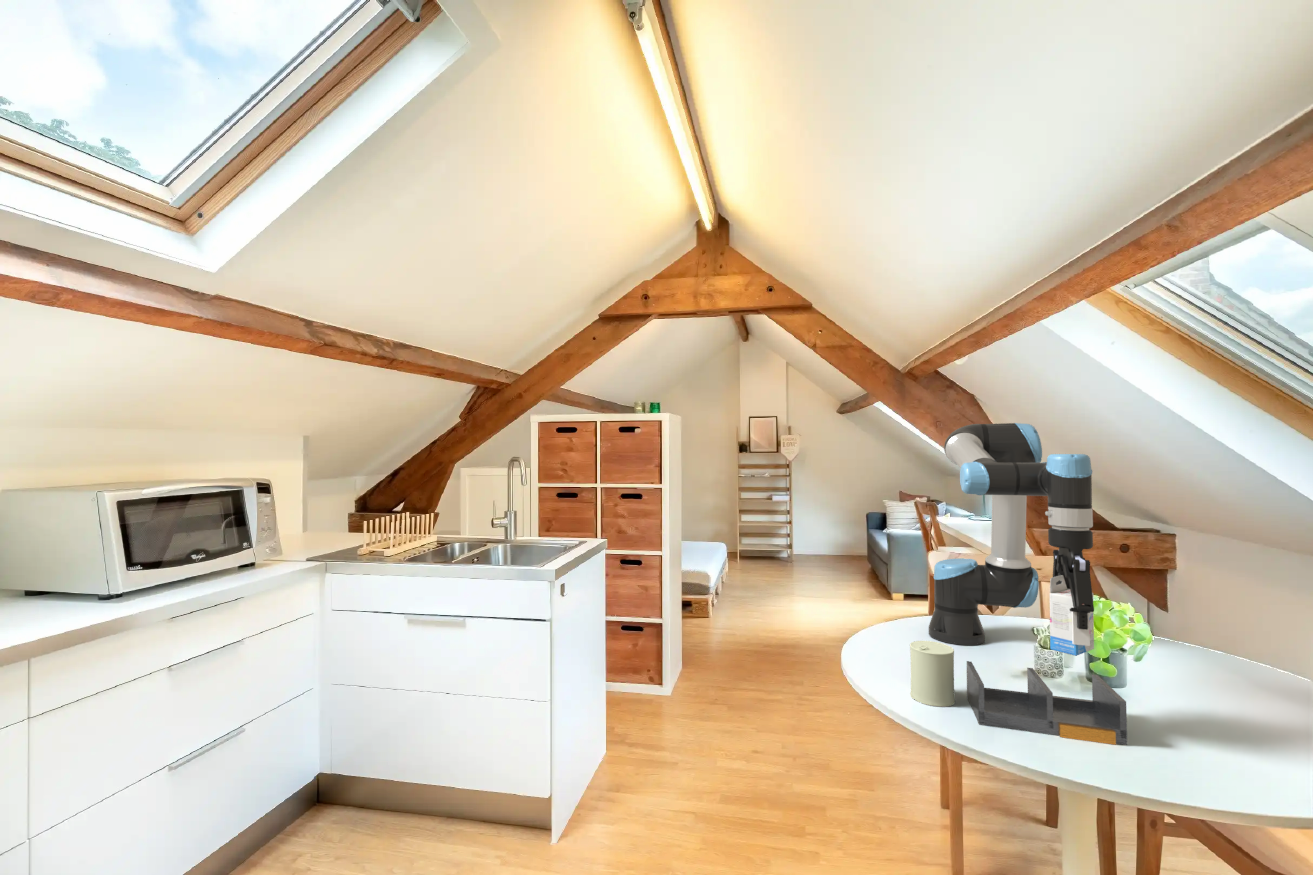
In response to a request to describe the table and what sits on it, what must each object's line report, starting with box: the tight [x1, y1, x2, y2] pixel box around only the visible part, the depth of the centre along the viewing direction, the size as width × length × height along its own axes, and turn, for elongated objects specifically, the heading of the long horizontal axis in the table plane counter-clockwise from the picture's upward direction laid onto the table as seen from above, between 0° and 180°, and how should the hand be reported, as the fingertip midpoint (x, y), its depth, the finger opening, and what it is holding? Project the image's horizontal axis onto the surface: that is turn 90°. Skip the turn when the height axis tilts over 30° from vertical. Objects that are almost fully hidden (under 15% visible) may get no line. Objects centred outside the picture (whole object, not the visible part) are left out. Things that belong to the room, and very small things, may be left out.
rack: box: [966, 660, 1128, 746], centre depth 120 cm, size 15×25×8 cm, turn 71°
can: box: [909, 640, 956, 708], centre depth 131 cm, size 9×9×12 cm
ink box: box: [1049, 575, 1095, 657], centre depth 119 cm, size 8×5×15 cm, turn 123°
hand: (1072, 636), depth 119 cm, fingers closed on ink box, 9 cm apart
